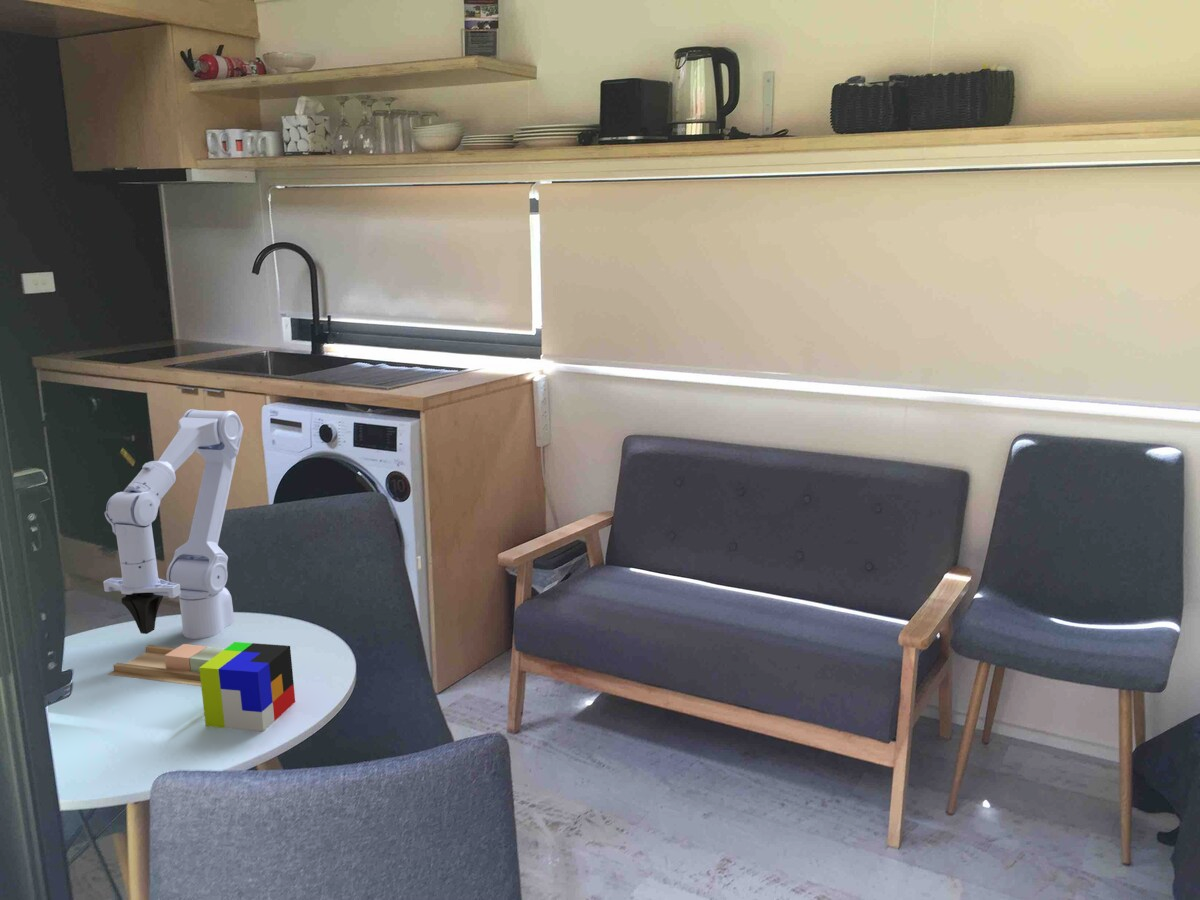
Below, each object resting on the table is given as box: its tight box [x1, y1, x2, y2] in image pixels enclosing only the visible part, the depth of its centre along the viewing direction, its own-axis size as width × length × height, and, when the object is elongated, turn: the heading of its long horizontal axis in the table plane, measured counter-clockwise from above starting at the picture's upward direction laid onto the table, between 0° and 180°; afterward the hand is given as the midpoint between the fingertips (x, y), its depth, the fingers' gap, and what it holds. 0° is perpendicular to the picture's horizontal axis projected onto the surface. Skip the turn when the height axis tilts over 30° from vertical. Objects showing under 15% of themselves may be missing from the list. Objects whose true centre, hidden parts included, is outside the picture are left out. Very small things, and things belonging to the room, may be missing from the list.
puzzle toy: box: [199, 641, 296, 732], centre depth 159 cm, size 10×10×10 cm
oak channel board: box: [108, 644, 226, 687], centre depth 175 cm, size 12×26×4 cm, turn 74°
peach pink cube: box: [164, 643, 208, 672], centre depth 175 cm, size 5×5×3 cm
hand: (147, 631), depth 176 cm, fingers closed
